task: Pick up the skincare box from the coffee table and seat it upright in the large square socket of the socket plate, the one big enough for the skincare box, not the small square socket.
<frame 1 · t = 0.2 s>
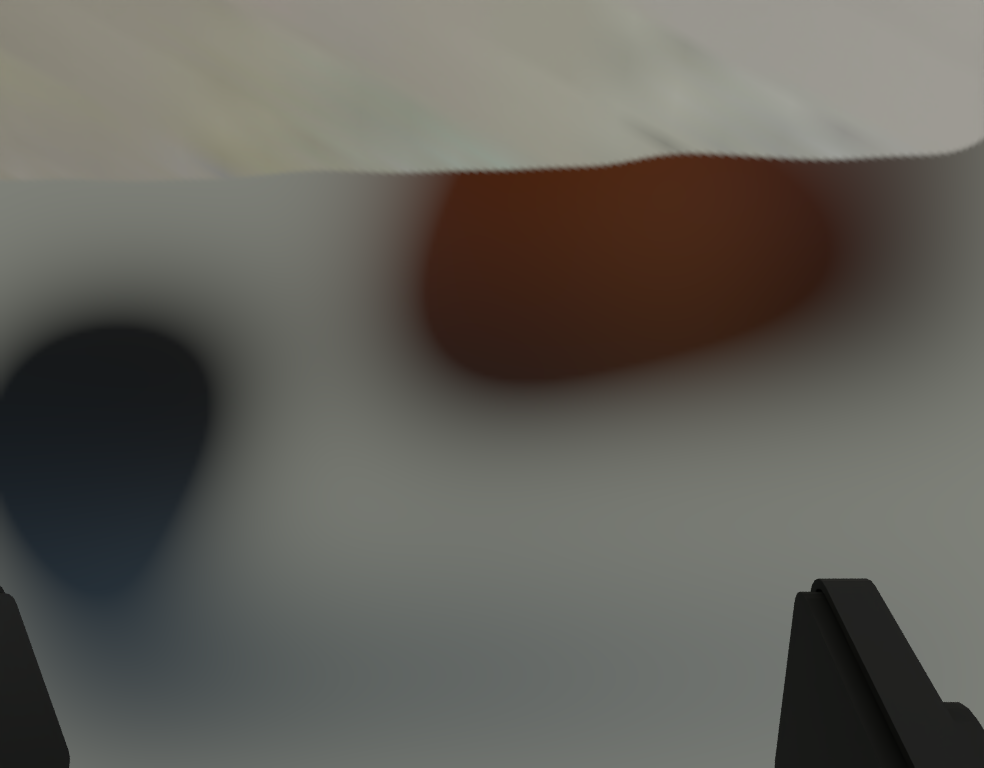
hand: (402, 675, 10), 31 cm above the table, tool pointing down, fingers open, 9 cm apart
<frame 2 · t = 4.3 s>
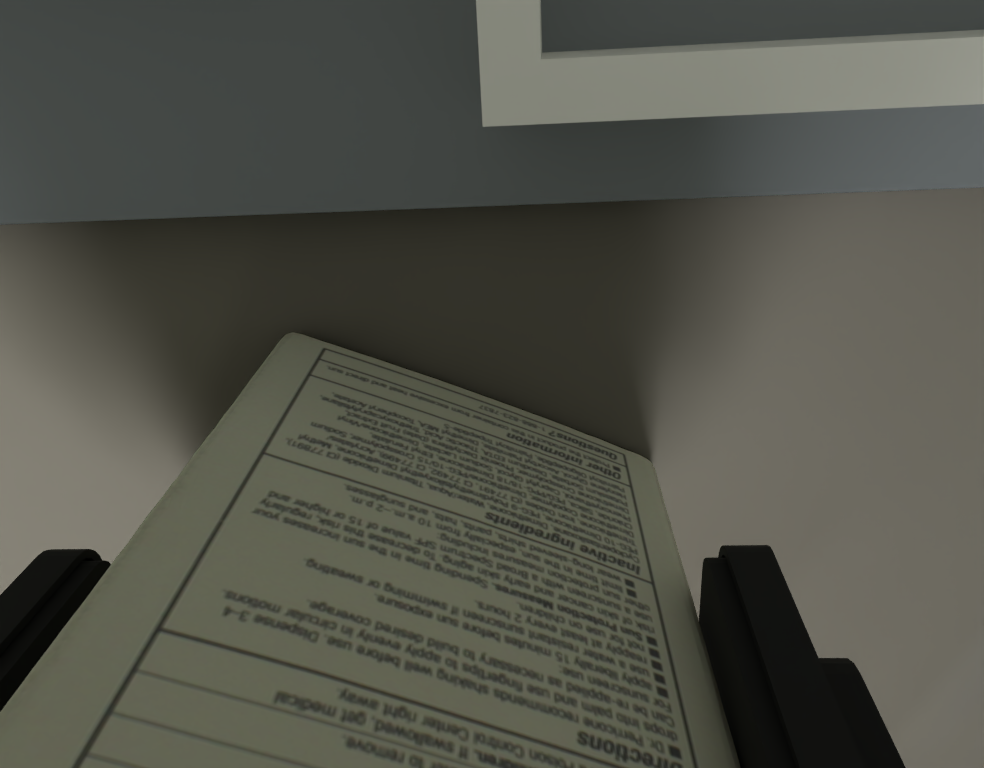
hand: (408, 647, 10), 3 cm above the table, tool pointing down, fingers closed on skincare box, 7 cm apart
skincare box: (443, 496, 14), on the table, touching gripper
when the fingers open (5 cm above the table, at t = 9.6 s): skincare box stays where it is, resting on socket plate.
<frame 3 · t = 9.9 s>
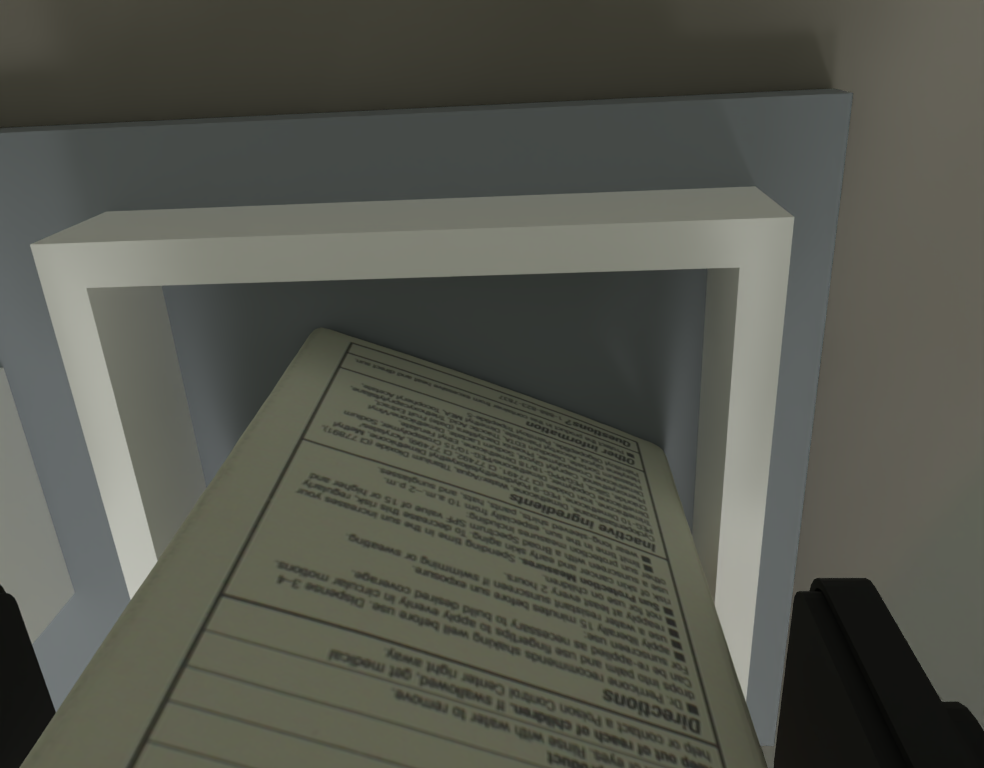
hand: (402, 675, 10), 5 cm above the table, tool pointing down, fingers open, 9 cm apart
socket plate: (233, 462, 15), on the table
skincare box: (463, 484, 14), point 1 cm above the table, touching socket plate
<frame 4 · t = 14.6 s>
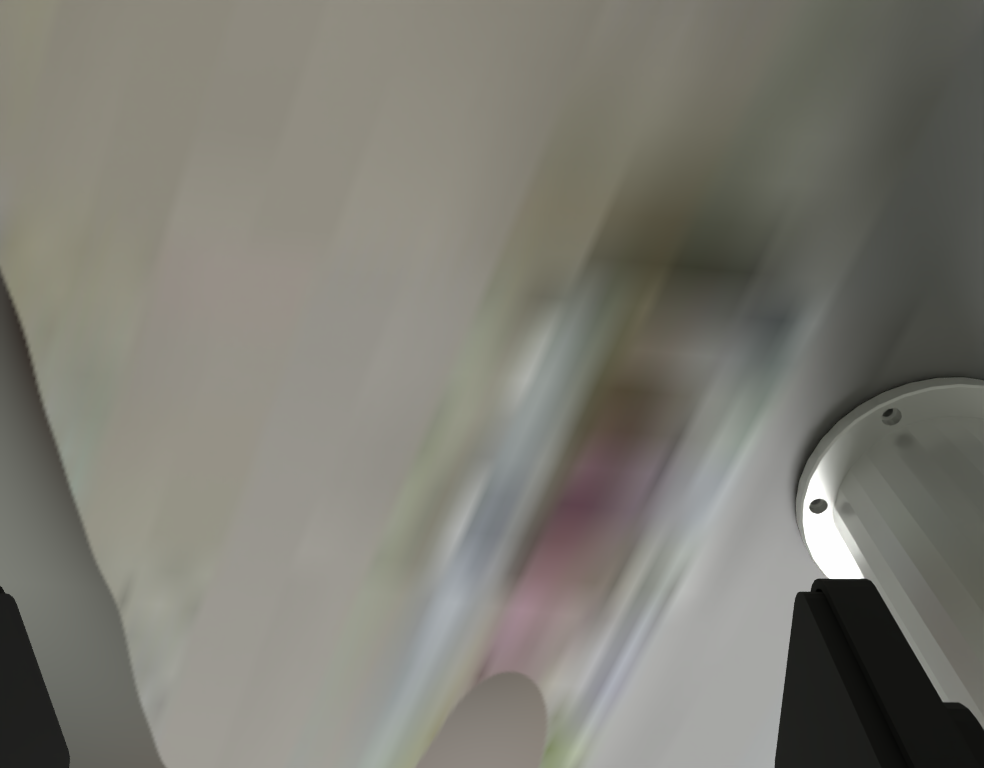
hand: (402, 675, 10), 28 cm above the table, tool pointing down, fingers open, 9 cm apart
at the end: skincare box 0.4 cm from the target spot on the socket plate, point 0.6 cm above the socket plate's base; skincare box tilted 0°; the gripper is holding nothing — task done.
